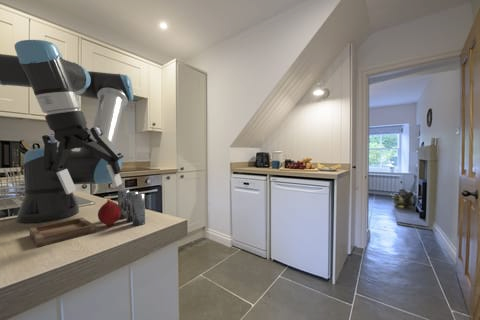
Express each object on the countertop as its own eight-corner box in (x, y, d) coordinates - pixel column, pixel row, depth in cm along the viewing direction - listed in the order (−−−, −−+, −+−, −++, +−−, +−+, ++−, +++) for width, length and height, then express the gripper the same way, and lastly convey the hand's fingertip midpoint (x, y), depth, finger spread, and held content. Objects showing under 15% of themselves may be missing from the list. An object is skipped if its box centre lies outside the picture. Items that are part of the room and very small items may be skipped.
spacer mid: (124, 220, 64) (124, 192, 64) (135, 217, 67) (135, 190, 66) (129, 222, 62) (129, 193, 62) (140, 219, 64) (140, 192, 64)
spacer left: (116, 217, 66) (116, 190, 66) (127, 215, 69) (126, 189, 69) (121, 219, 64) (120, 192, 64) (131, 217, 67) (131, 190, 67)
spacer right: (130, 224, 60) (130, 194, 60) (141, 221, 63) (141, 192, 63) (135, 226, 58) (135, 195, 58) (147, 223, 61) (147, 194, 61)
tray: (29, 235, 52) (29, 227, 52) (82, 223, 61) (82, 217, 60) (37, 247, 45) (37, 238, 45) (95, 232, 54) (95, 225, 54)
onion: (125, 222, 62) (125, 197, 61) (112, 229, 56) (111, 201, 56) (108, 222, 62) (107, 196, 62) (92, 229, 56) (92, 200, 56)
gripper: (-2, 121, 47) (39, 201, 53) (102, 104, 46) (131, 187, 53) (29, 118, 54) (62, 189, 60) (120, 103, 53) (144, 176, 60)
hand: (95, 188), depth 56 cm, fingers open, 13 cm apart
